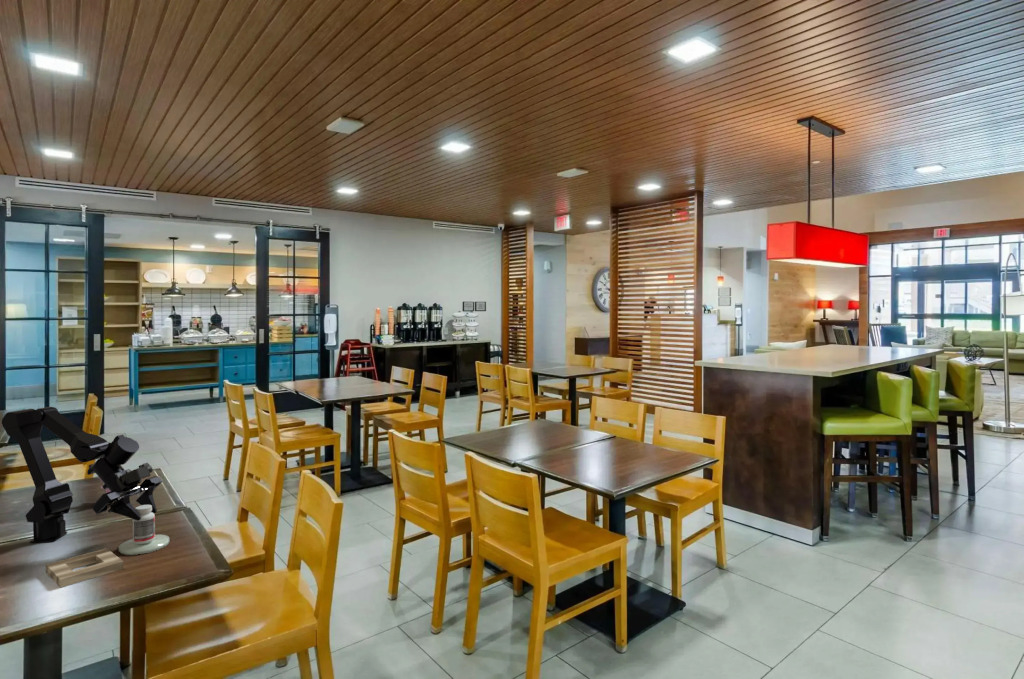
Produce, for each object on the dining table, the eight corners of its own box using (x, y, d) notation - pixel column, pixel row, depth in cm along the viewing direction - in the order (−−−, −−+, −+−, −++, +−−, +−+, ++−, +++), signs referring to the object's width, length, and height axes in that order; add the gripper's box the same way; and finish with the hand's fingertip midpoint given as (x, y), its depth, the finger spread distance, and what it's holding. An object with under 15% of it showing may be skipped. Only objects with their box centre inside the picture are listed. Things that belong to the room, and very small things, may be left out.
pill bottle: (159, 539, 159) (158, 505, 158) (139, 546, 154) (138, 511, 154) (148, 535, 161) (147, 502, 161) (128, 542, 156) (127, 507, 156)
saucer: (110, 556, 151) (109, 553, 151) (131, 539, 162) (131, 535, 162) (158, 553, 153) (158, 549, 153) (176, 536, 165) (176, 533, 165)
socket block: (46, 572, 141) (45, 564, 141) (106, 555, 151) (106, 548, 151) (60, 587, 133) (60, 579, 133) (123, 568, 143) (123, 561, 143)
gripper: (101, 465, 148) (138, 509, 147) (156, 449, 166) (189, 487, 165) (76, 492, 150) (112, 535, 148) (133, 473, 168) (166, 511, 167)
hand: (147, 516), depth 157 cm, fingers closed on pill bottle, 5 cm apart
